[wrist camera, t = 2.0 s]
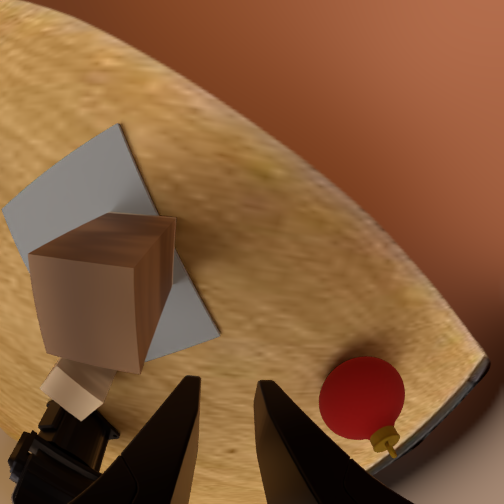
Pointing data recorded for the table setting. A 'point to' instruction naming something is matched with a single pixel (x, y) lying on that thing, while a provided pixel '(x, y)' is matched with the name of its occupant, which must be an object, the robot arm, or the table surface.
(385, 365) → the christmas ornament
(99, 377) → the maple block
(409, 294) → the table surface
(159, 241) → the walnut block
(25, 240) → the mat
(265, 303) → the table surface
